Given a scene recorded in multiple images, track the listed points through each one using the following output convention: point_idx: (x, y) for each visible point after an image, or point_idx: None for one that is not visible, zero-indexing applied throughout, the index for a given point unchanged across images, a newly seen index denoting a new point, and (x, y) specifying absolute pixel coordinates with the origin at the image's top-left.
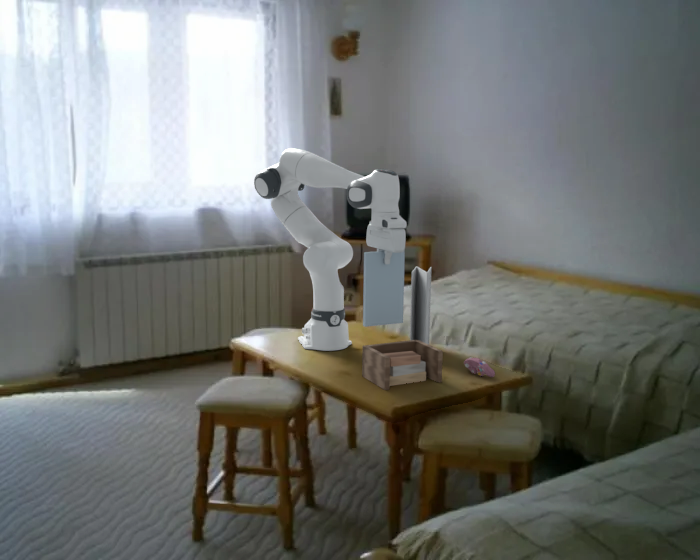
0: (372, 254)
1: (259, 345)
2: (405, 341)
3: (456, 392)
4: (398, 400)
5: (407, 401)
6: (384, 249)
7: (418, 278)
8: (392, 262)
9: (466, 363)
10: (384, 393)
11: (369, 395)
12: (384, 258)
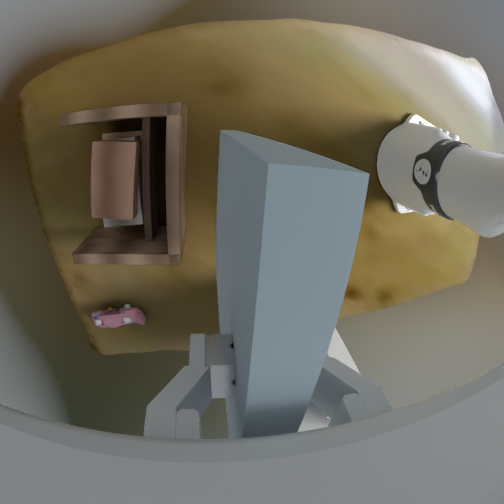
0: (252, 281)
1: (455, 70)
2: (173, 230)
3: (47, 229)
4: (41, 118)
5: (33, 131)
6: (143, 443)
7: None
8: None
9: (127, 308)
10: (77, 107)
11: (79, 77)
12: (205, 366)
